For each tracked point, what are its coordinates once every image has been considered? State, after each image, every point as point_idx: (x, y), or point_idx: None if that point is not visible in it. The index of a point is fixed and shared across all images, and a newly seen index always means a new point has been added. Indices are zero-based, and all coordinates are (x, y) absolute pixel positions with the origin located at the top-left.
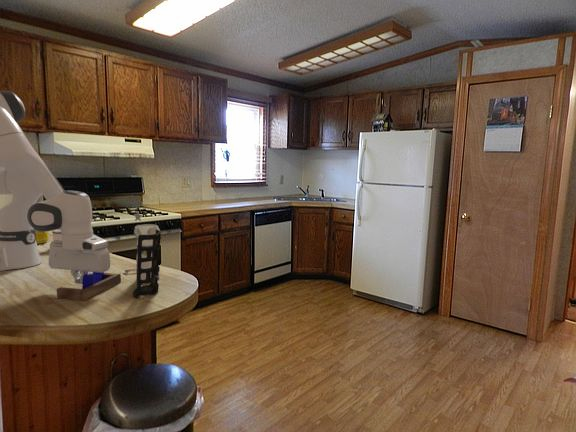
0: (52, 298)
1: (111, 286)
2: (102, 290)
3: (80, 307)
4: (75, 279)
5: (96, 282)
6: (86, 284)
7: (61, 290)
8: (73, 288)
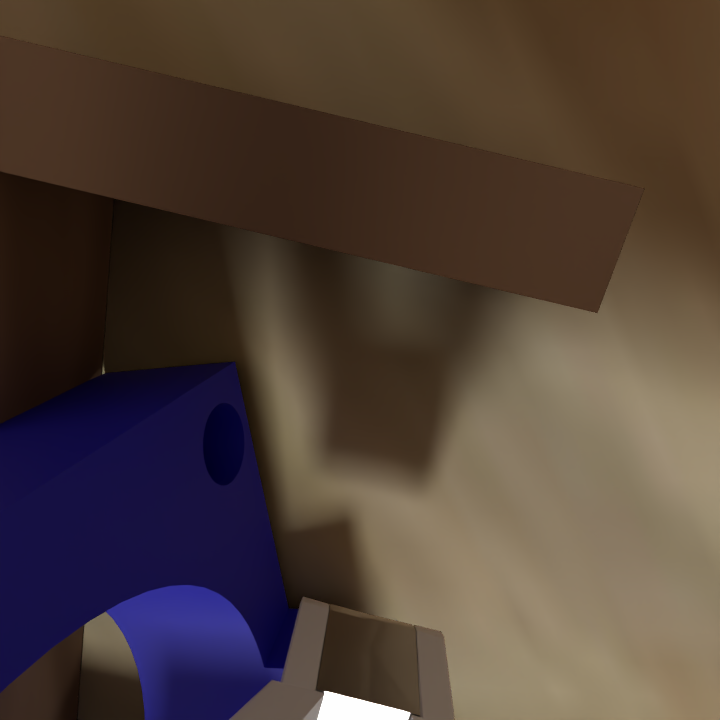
0: None
1: None
2: None
3: None
4: (428, 694)
5: (177, 703)
6: (59, 434)
7: (494, 158)
8: (234, 217)
